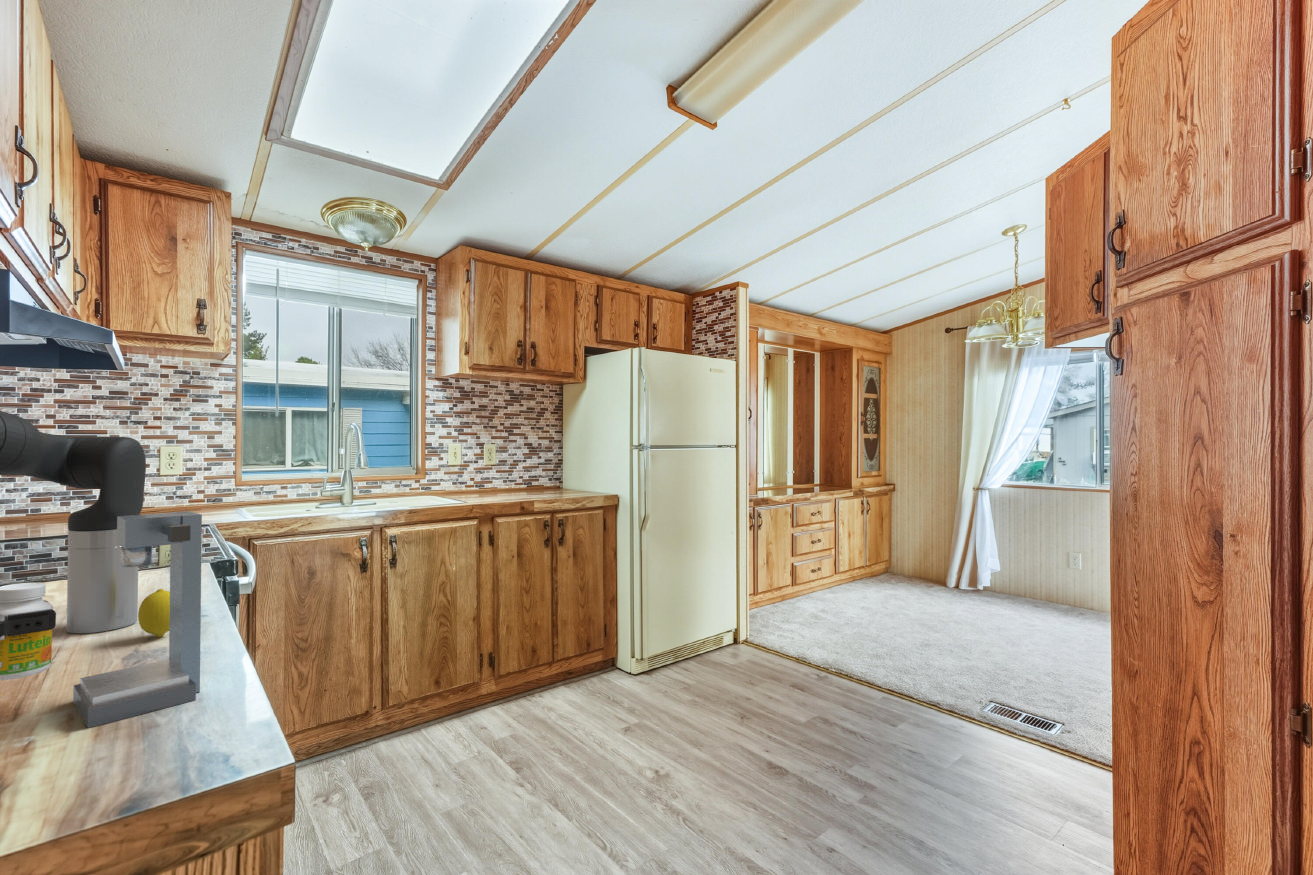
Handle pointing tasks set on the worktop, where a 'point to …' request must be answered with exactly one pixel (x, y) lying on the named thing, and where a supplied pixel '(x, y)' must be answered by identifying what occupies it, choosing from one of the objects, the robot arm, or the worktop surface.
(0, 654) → the supplement bottle
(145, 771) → the worktop surface
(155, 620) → the lemon
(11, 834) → the worktop surface
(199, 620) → the arbor press
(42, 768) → the worktop surface
